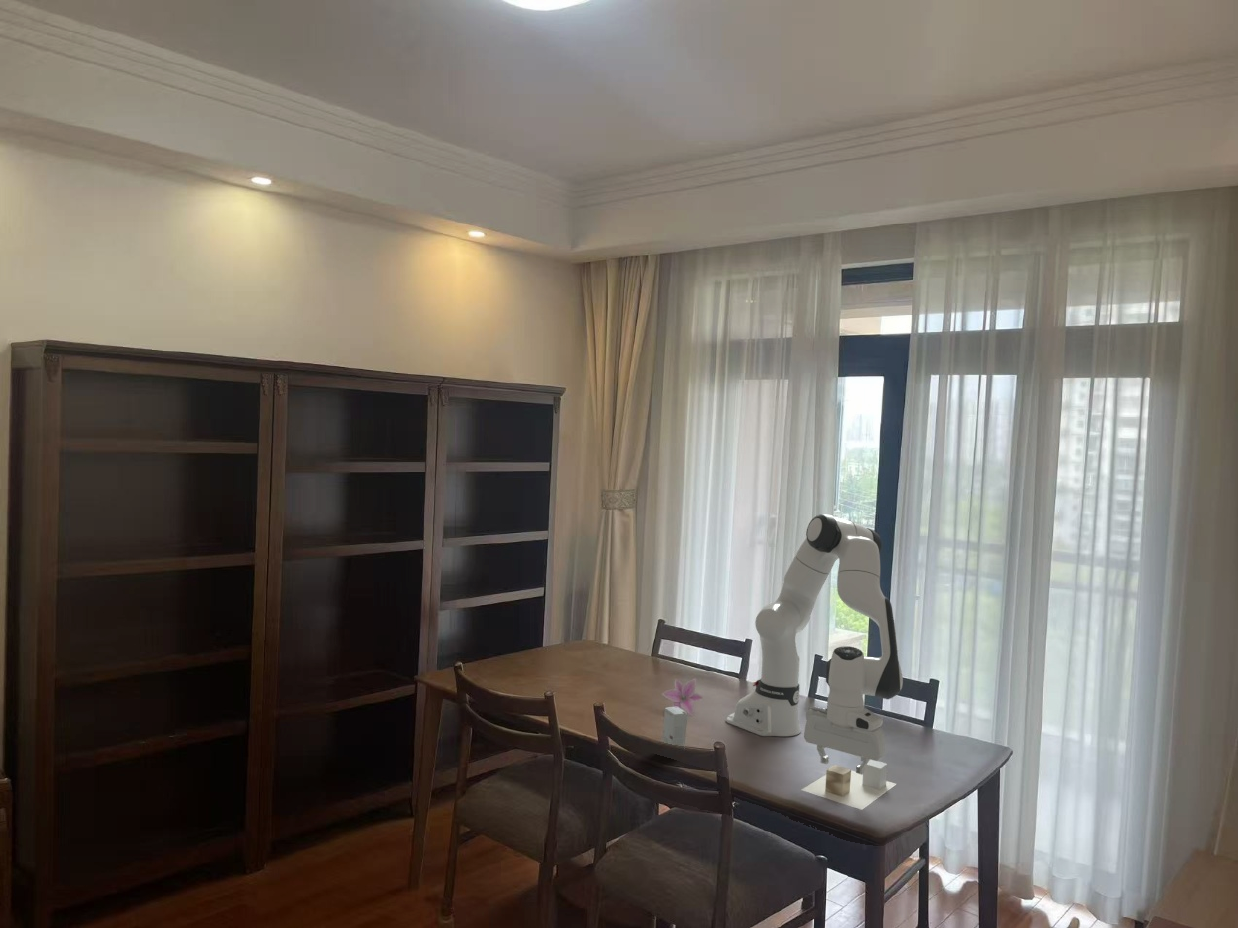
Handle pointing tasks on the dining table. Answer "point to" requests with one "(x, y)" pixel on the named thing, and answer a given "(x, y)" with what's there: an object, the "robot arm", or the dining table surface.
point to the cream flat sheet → (858, 793)
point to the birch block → (838, 780)
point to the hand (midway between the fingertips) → (842, 768)
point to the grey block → (875, 774)
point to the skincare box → (674, 726)
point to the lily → (684, 695)
